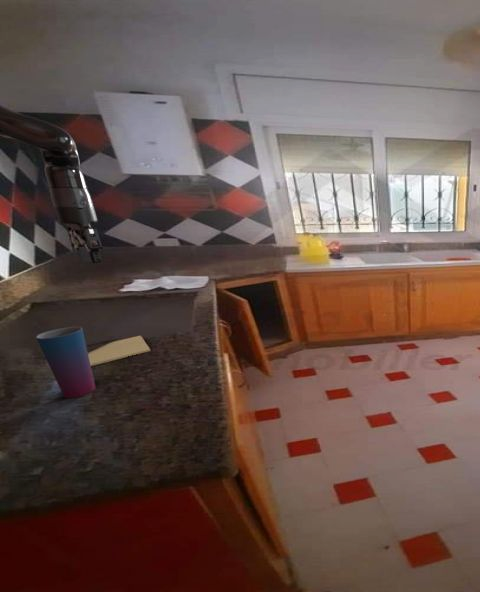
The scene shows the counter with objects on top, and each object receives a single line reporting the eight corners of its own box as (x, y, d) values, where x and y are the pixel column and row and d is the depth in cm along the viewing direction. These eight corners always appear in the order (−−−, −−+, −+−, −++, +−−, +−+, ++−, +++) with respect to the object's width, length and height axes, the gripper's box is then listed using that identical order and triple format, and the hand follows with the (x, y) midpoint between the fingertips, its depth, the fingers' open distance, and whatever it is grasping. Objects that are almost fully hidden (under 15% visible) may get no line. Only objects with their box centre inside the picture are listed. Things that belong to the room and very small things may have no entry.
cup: (54, 404, 69) (30, 341, 64) (63, 390, 74) (42, 331, 70) (97, 394, 72) (77, 333, 68) (103, 381, 78) (85, 324, 74)
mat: (71, 371, 83) (71, 369, 82) (70, 353, 93) (69, 351, 93) (150, 350, 94) (150, 349, 94) (141, 337, 104) (140, 335, 104)
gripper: (45, 205, 87) (64, 263, 92) (63, 205, 81) (83, 267, 85) (83, 205, 94) (99, 259, 98) (103, 205, 87) (119, 263, 92)
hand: (91, 263), depth 92 cm, fingers open, 8 cm apart
